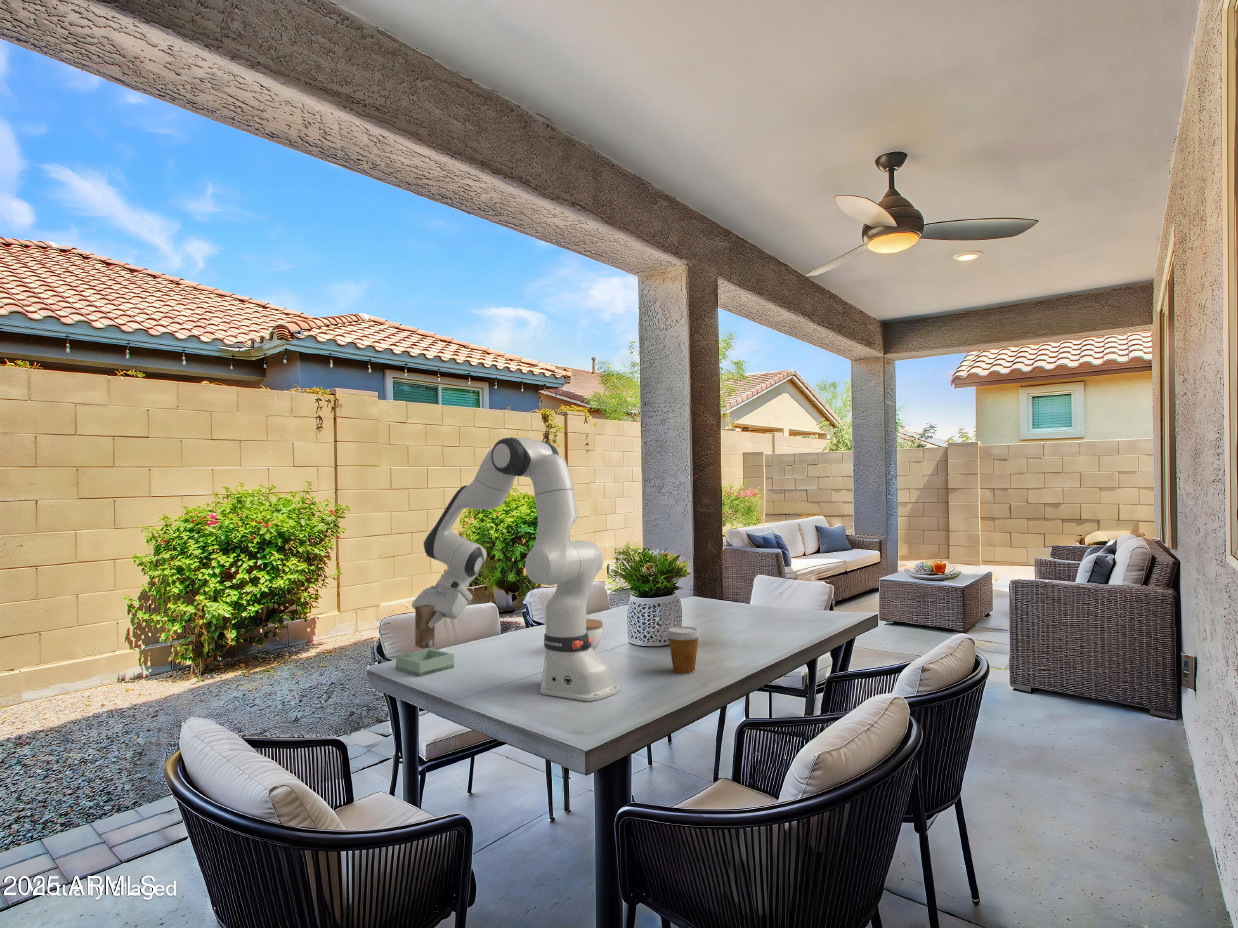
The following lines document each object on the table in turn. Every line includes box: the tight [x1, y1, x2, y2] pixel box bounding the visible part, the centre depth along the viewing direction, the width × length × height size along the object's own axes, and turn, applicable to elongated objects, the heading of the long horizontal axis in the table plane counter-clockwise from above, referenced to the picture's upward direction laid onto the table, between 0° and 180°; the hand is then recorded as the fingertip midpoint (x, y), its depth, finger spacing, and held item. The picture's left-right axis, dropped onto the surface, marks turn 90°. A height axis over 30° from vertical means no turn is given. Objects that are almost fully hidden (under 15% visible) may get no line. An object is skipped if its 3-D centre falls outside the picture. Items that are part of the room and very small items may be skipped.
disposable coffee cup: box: [666, 626, 701, 674], centre depth 190 cm, size 10×10×12 cm
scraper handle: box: [414, 605, 436, 650], centre depth 196 cm, size 6×4×12 cm, turn 52°
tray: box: [395, 648, 455, 677], centre depth 196 cm, size 12×12×4 cm
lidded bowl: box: [586, 618, 604, 651], centre depth 216 cm, size 13×13×11 cm
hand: (423, 625), depth 196 cm, fingers closed on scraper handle, 4 cm apart
